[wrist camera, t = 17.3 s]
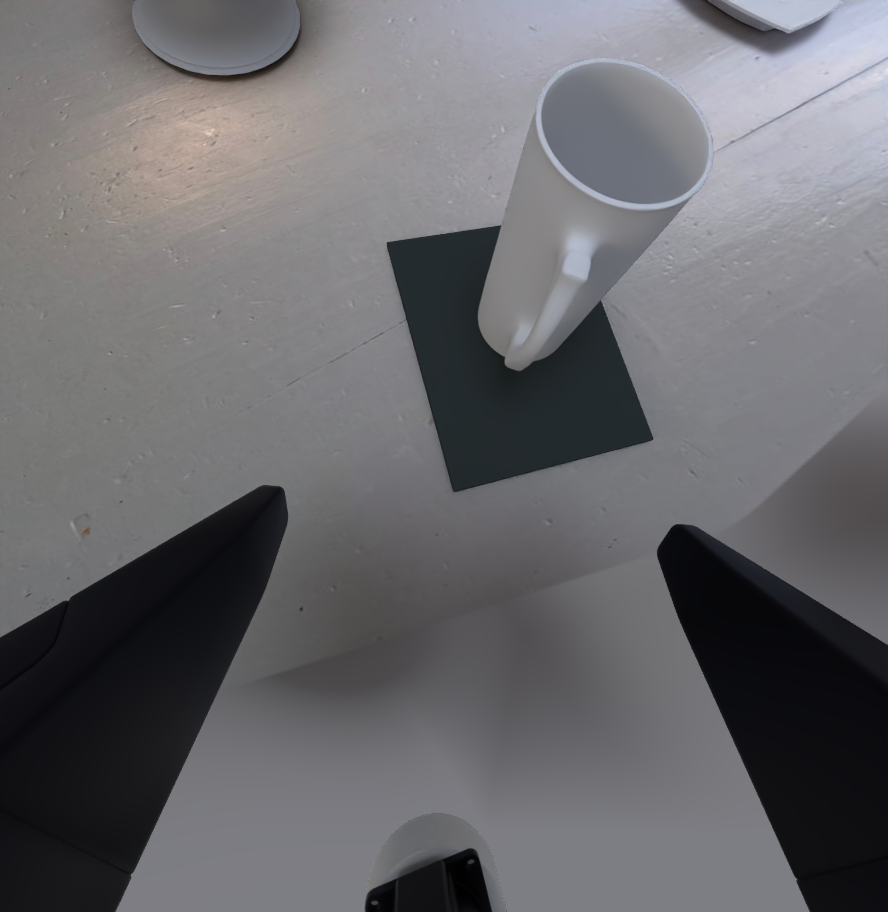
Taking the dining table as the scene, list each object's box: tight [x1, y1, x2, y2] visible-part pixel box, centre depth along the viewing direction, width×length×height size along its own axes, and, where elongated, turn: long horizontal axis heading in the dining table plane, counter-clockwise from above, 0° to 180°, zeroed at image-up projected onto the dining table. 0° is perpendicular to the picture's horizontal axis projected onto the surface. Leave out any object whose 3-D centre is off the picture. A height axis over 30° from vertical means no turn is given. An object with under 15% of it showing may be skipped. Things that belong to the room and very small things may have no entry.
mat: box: [387, 226, 653, 492], centre depth 24 cm, size 18×14×1 cm
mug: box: [478, 58, 714, 371], centre depth 18 cm, size 10×7×12 cm, turn 161°
